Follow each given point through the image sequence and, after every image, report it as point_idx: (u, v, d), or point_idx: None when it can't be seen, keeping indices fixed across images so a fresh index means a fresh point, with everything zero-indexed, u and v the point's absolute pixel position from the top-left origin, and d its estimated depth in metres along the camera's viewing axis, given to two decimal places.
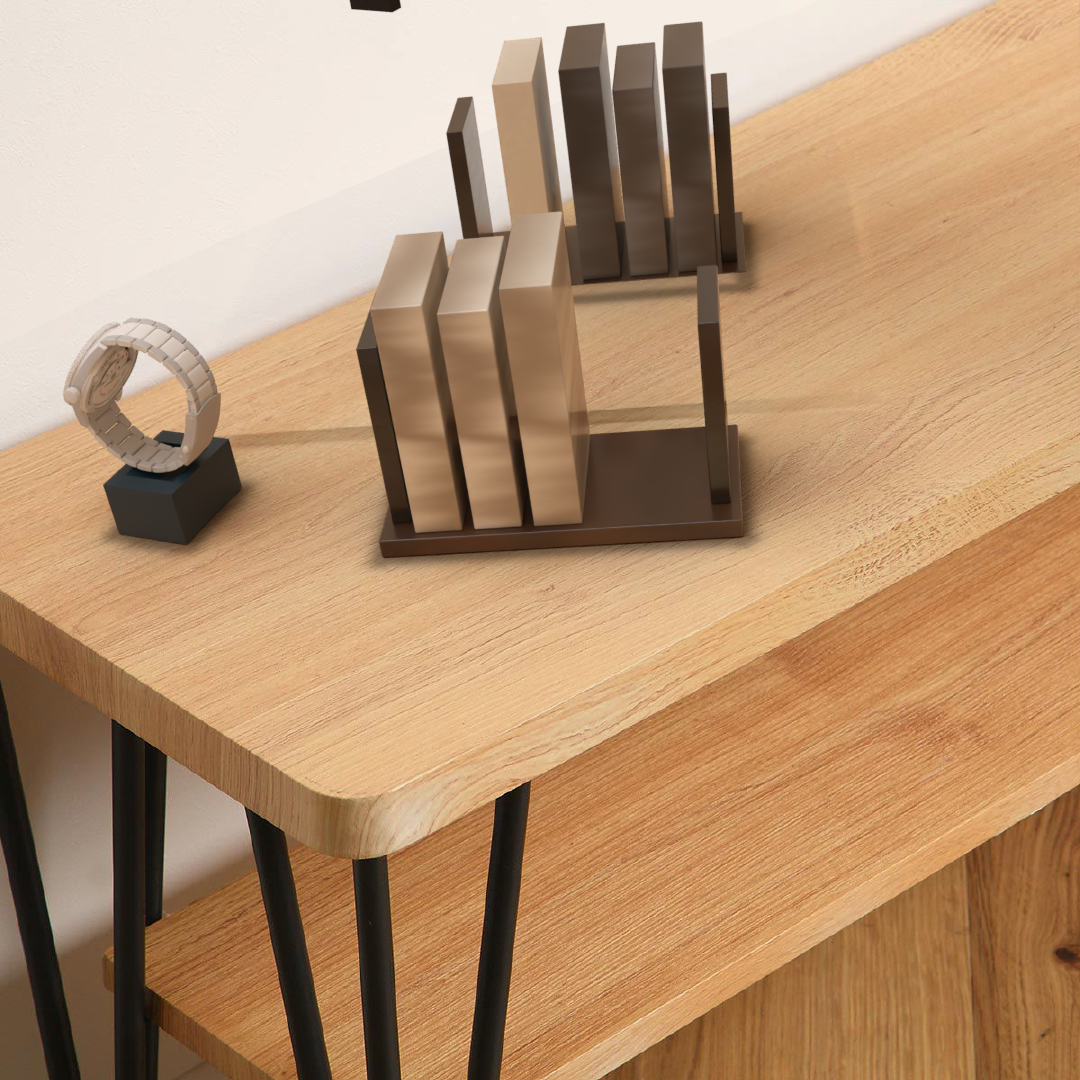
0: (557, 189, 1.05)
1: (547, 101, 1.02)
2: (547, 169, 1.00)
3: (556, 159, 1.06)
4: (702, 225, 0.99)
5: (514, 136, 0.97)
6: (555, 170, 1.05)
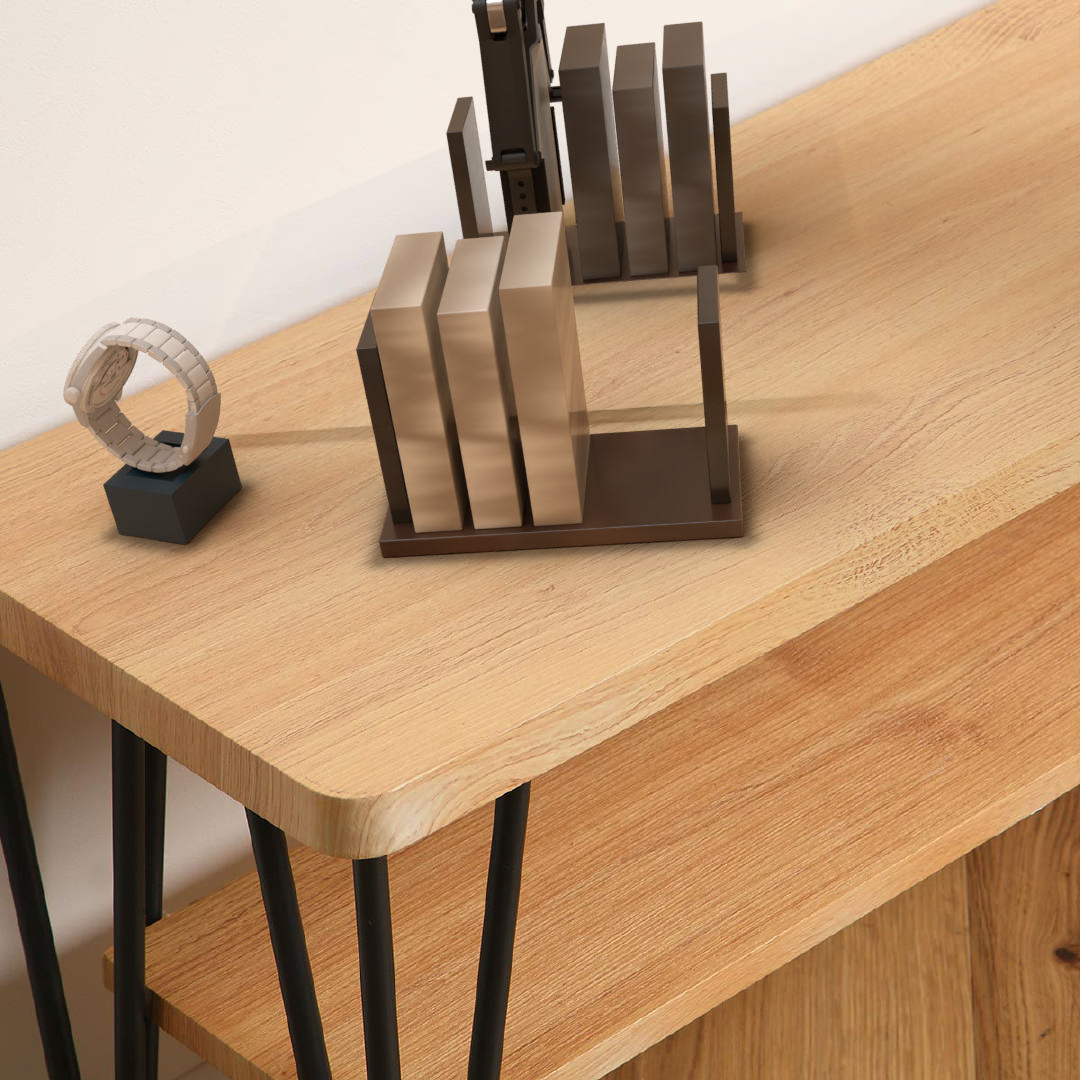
0: (557, 189, 1.05)
1: (547, 101, 1.02)
2: (547, 169, 1.00)
3: (556, 159, 1.06)
4: (702, 225, 0.99)
5: None
6: (555, 170, 1.05)
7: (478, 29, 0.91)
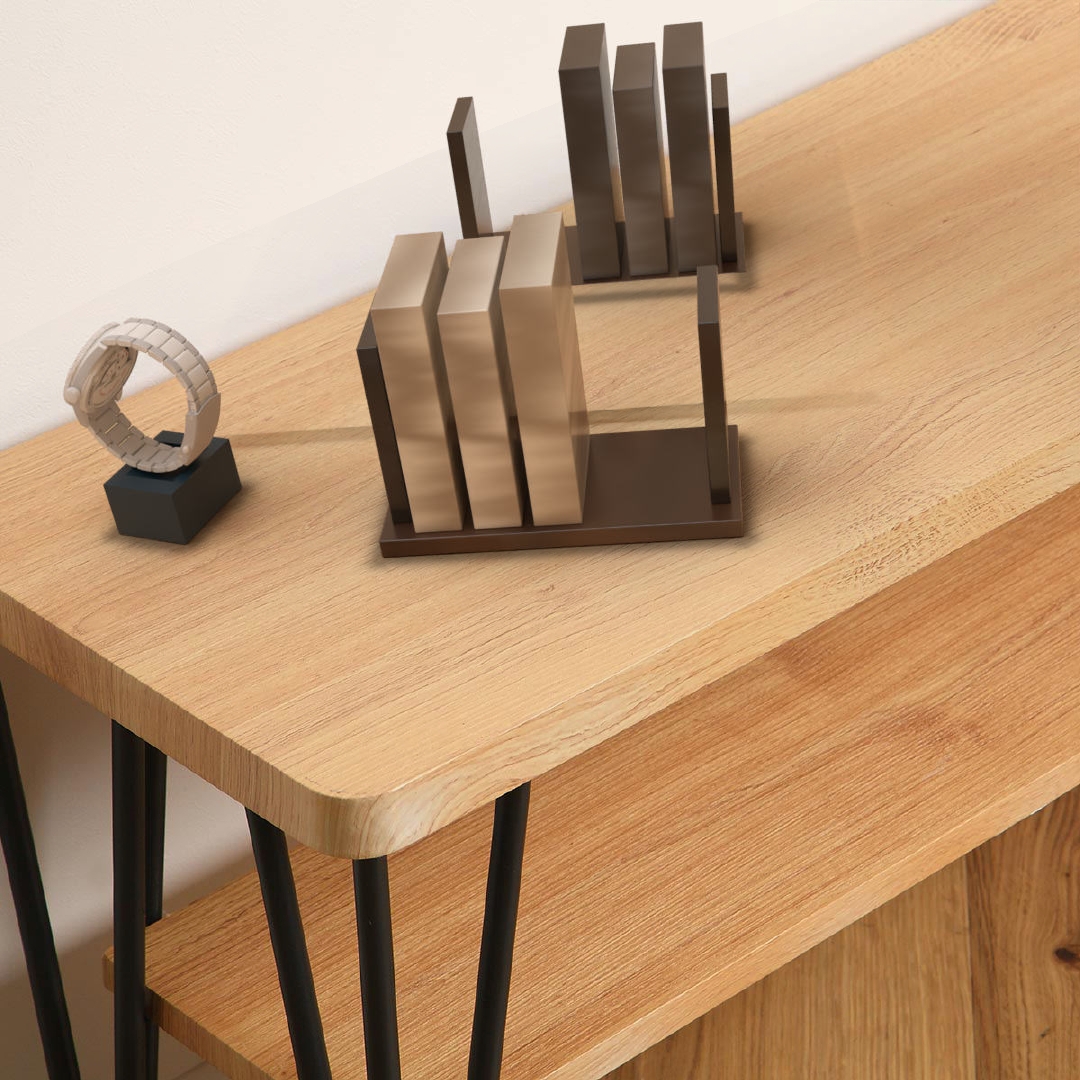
0: None
1: None
2: None
3: None
4: (702, 225, 0.99)
5: None
6: None
7: None
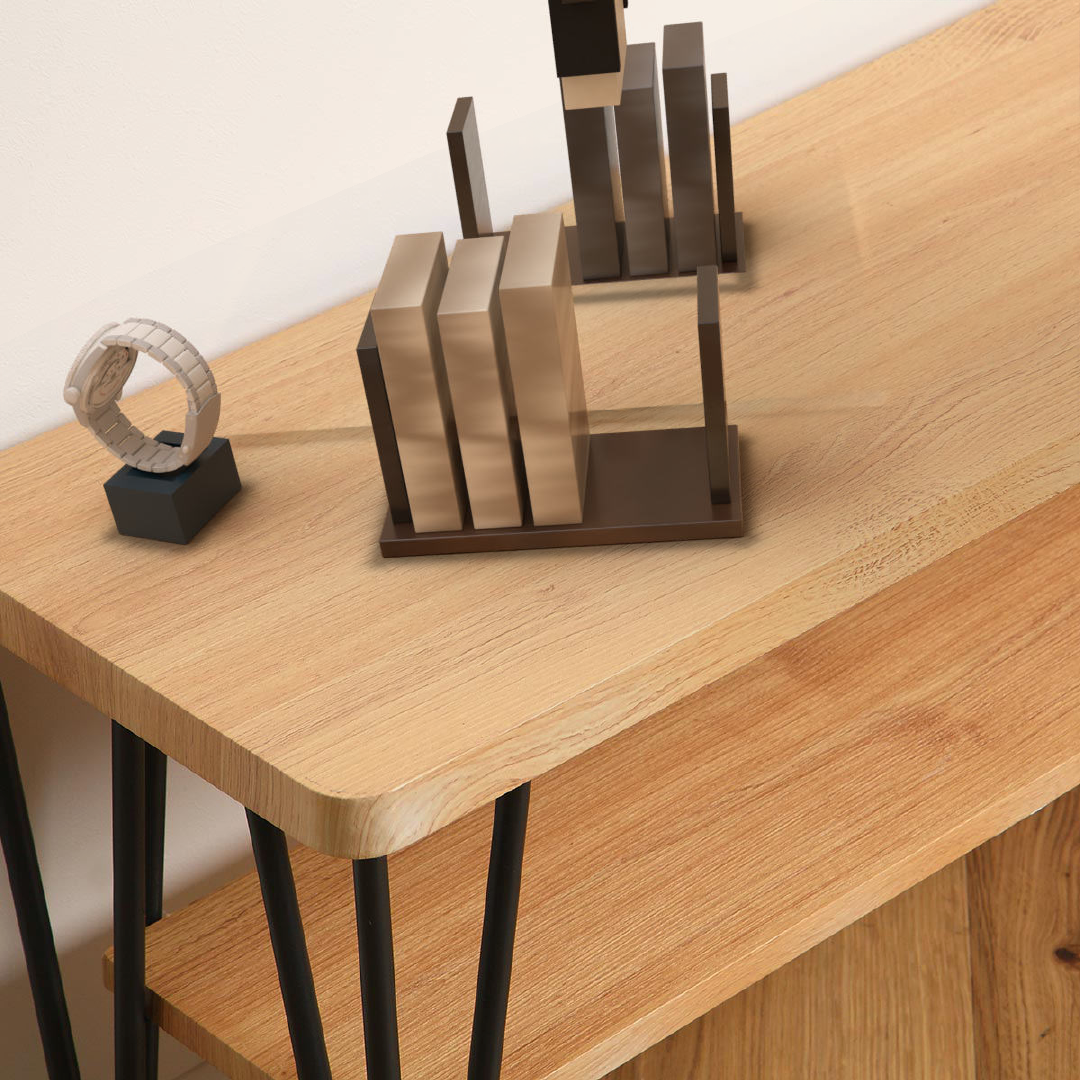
0: None
1: None
2: None
3: None
4: (702, 225, 0.99)
5: None
6: None
7: None
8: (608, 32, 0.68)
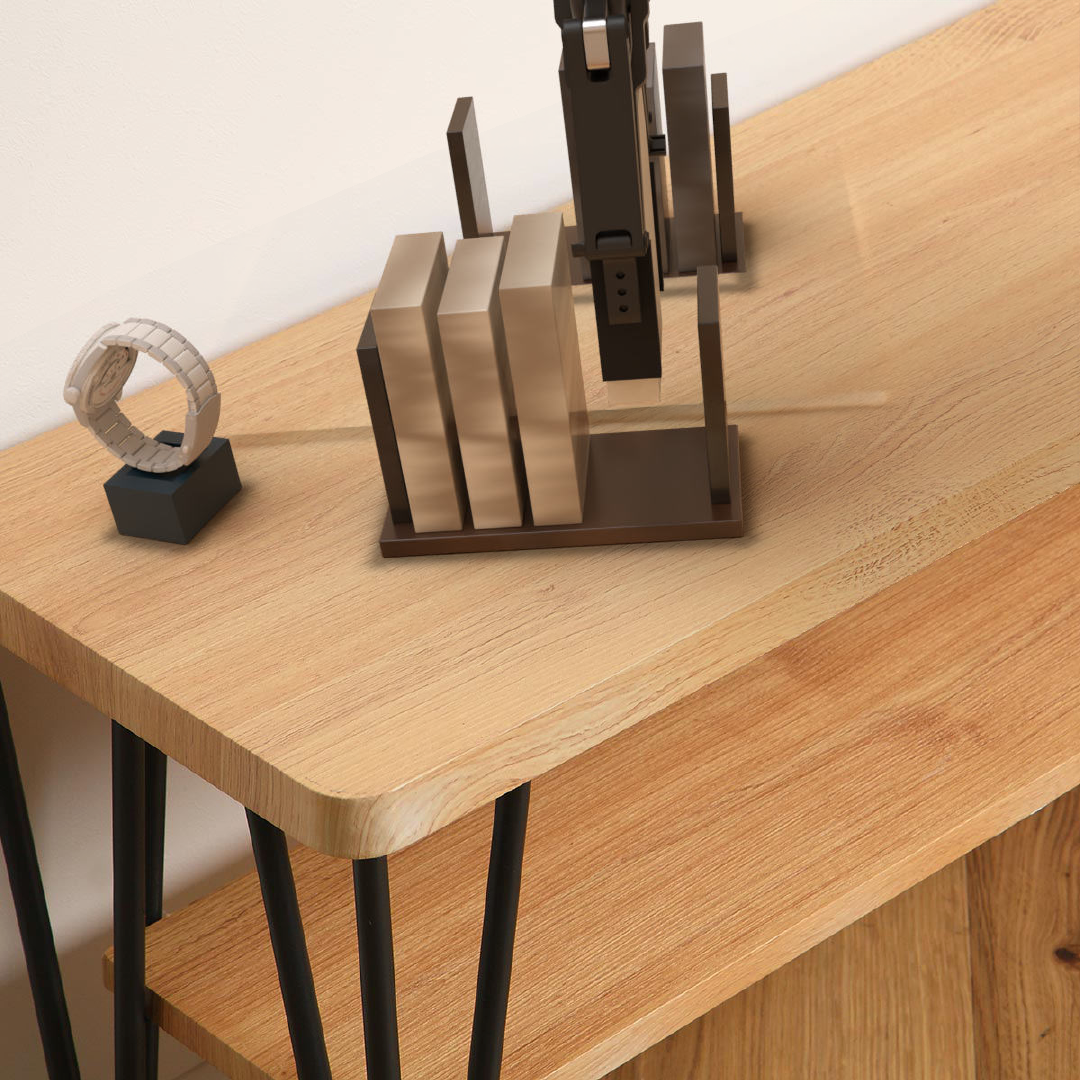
0: (656, 273, 0.79)
1: (647, 157, 0.76)
2: None
3: (654, 232, 0.79)
4: (702, 225, 0.99)
5: None
6: (654, 248, 0.78)
7: (569, 65, 0.64)
8: (651, 344, 0.73)
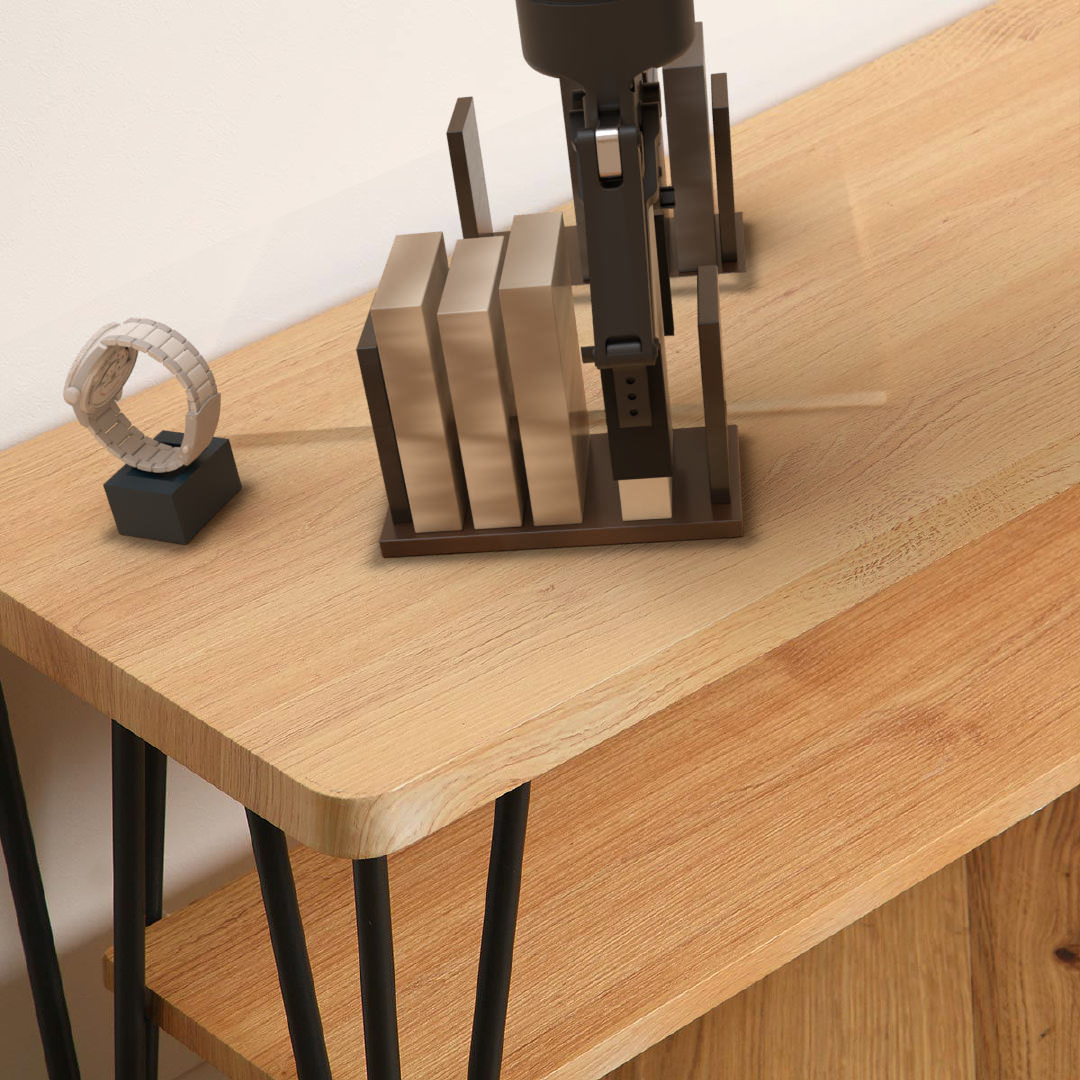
0: (667, 390, 0.82)
1: (658, 284, 0.79)
2: None
3: (665, 351, 0.83)
4: (702, 225, 0.99)
5: None
6: (665, 367, 0.82)
7: (582, 170, 0.66)
8: (661, 445, 0.73)
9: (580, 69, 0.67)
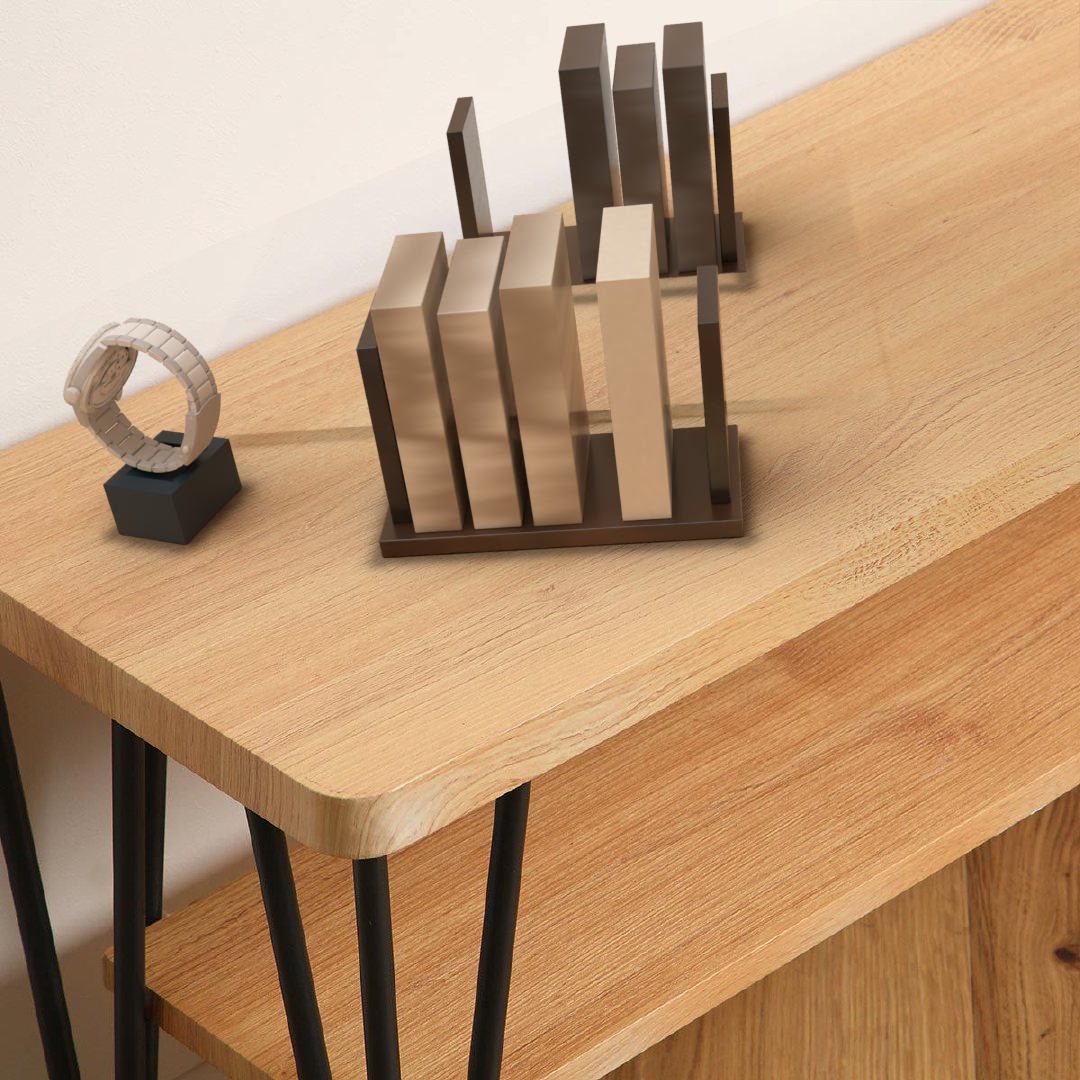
0: (667, 390, 0.82)
1: (658, 284, 0.79)
2: (661, 377, 0.77)
3: (665, 351, 0.83)
4: (702, 225, 0.99)
5: (623, 343, 0.74)
6: (665, 367, 0.82)
7: None
8: None
9: None
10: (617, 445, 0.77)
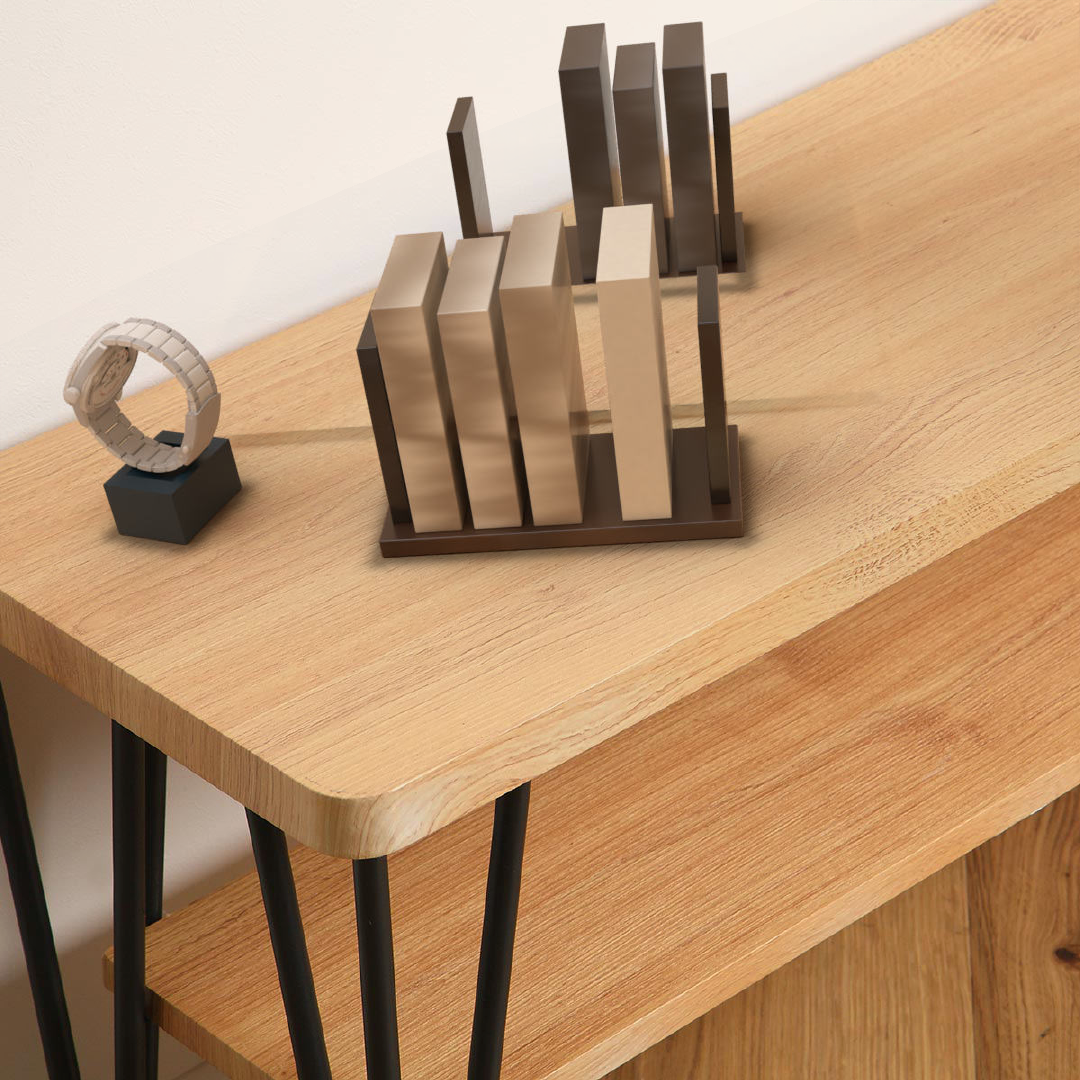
0: (667, 390, 0.82)
1: (658, 284, 0.79)
2: (661, 377, 0.77)
3: (665, 351, 0.83)
4: (702, 225, 0.99)
5: (623, 343, 0.74)
6: (665, 367, 0.82)
7: None
8: None
9: None
10: (617, 445, 0.77)
